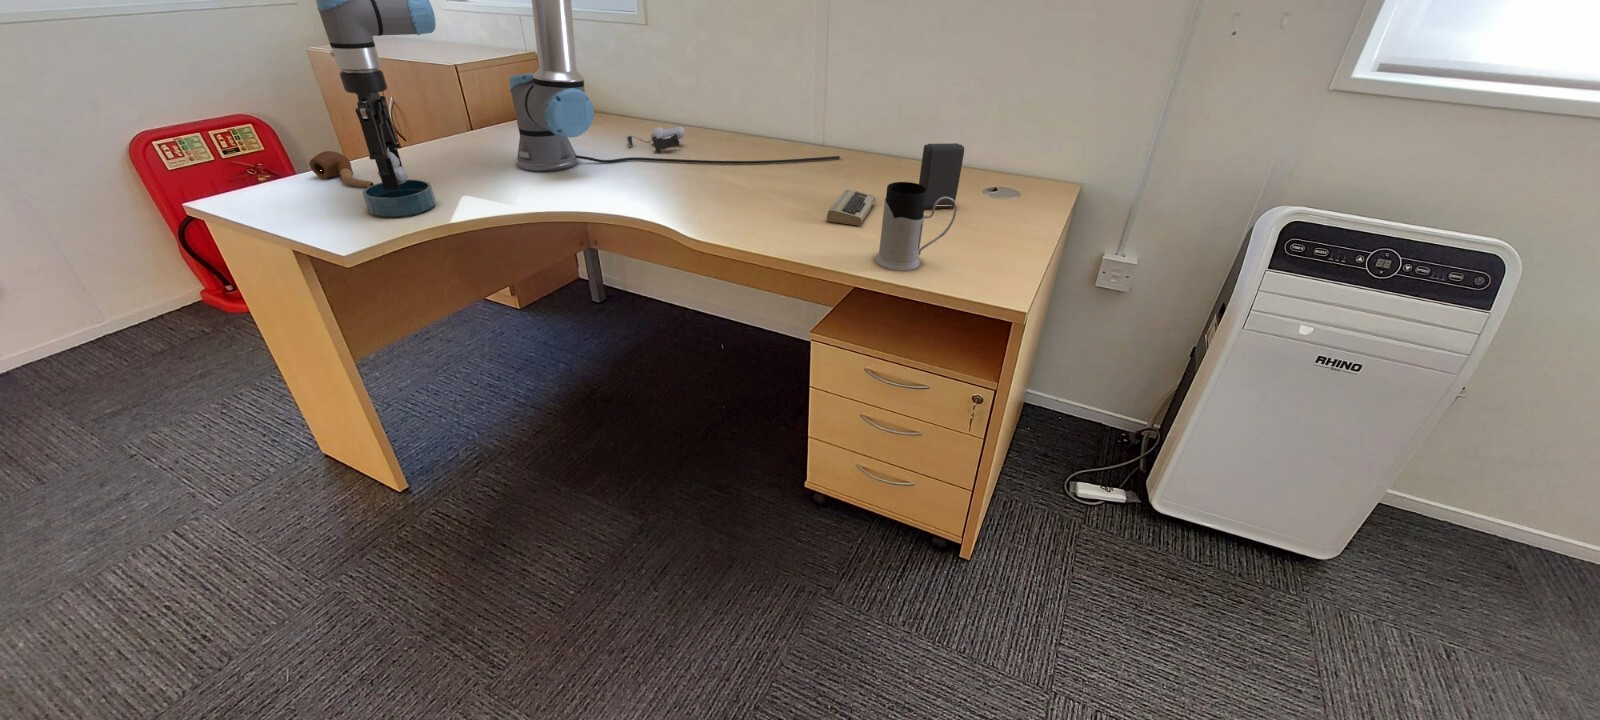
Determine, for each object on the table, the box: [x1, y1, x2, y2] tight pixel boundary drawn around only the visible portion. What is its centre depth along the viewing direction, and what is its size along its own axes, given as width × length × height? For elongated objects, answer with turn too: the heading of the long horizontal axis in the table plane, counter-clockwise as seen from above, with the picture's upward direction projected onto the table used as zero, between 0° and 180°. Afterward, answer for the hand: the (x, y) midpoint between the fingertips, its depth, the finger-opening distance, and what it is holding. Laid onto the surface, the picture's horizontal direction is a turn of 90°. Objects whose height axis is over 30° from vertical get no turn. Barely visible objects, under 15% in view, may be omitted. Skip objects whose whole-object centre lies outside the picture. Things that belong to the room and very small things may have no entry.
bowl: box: [362, 178, 437, 218], centre depth 143 cm, size 13×13×4 cm
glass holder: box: [875, 181, 958, 272], centre depth 125 cm, size 9×14×15 cm, turn 85°
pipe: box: [308, 150, 375, 188], centre depth 157 cm, size 7×19×6 cm, turn 65°
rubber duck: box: [377, 148, 409, 185], centre depth 139 cm, size 5×7×8 cm
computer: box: [826, 189, 876, 227], centre depth 150 cm, size 16×8×3 cm, turn 163°
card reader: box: [918, 142, 965, 210], centre depth 153 cm, size 9×4×15 cm, turn 100°
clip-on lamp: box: [626, 126, 686, 154], centre depth 192 cm, size 12×6×18 cm
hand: (395, 183), depth 141 cm, fingers closed on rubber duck, 6 cm apart
